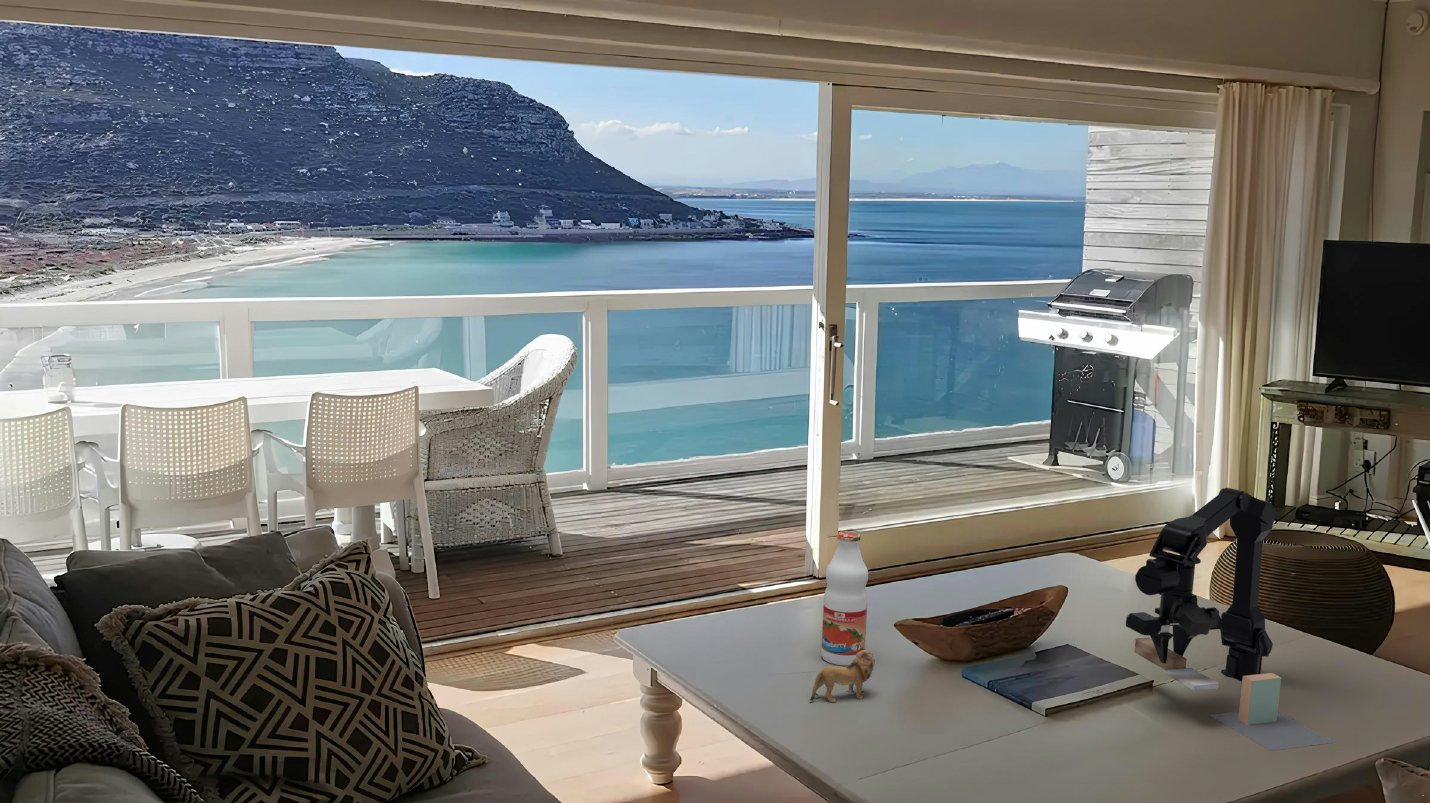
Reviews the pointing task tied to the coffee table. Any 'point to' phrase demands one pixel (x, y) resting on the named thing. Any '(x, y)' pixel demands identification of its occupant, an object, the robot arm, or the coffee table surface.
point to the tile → (1259, 698)
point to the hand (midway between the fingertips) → (1169, 662)
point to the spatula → (1174, 666)
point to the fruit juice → (845, 602)
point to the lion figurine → (846, 675)
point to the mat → (1275, 732)
